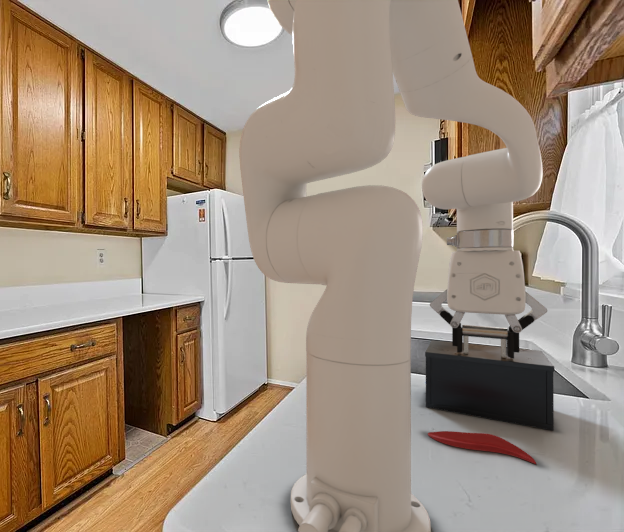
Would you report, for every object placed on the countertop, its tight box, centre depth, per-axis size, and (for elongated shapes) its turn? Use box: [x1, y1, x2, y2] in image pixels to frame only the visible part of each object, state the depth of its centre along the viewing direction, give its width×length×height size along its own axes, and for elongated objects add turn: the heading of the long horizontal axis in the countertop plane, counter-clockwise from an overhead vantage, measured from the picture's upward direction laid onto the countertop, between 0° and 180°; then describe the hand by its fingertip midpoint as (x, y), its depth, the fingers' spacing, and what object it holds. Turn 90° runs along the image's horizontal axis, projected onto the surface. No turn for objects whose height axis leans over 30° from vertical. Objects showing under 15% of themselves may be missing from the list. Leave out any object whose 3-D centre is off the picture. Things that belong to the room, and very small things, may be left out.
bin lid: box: [424, 324, 555, 373], centre depth 64 cm, size 12×17×6 cm
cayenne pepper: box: [427, 430, 537, 465], centre depth 49 cm, size 12×5×2 cm, turn 43°
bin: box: [425, 357, 555, 431], centre depth 64 cm, size 12×17×9 cm
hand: (484, 352), depth 60 cm, fingers closed on bin lid, 6 cm apart
